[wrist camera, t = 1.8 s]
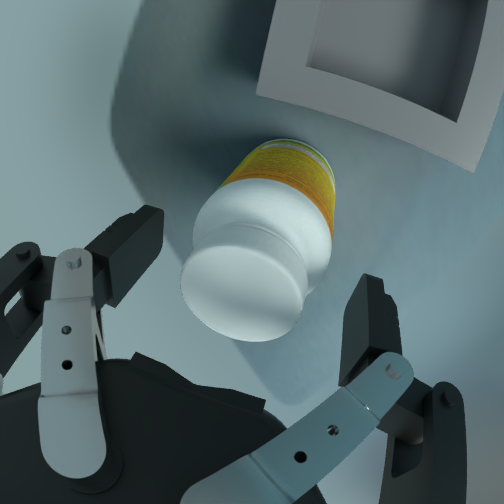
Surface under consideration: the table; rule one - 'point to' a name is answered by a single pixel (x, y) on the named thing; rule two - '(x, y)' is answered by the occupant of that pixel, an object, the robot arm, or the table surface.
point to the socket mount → (393, 67)
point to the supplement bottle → (262, 242)
